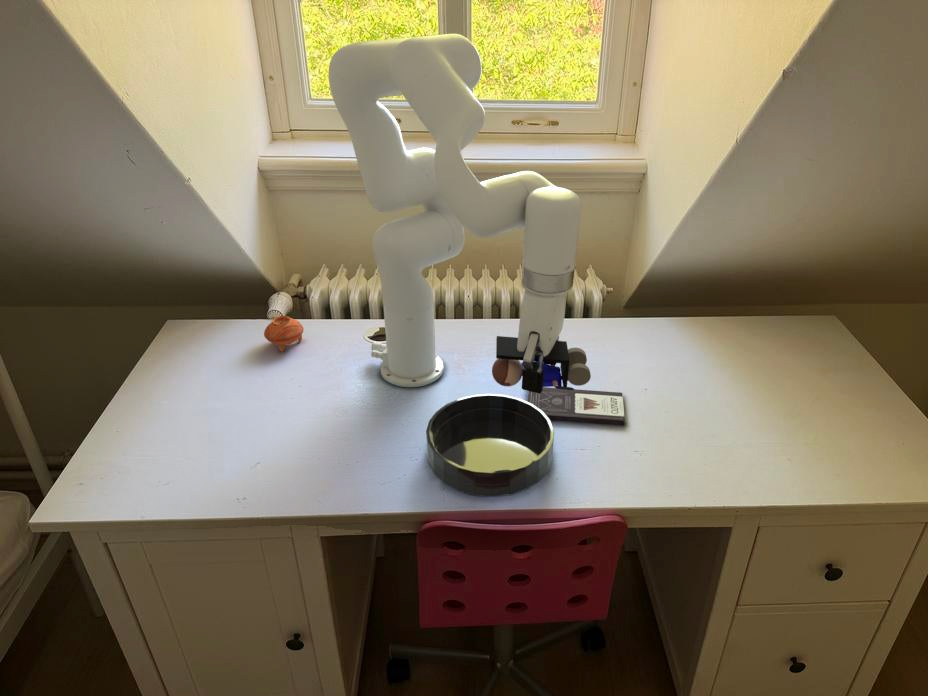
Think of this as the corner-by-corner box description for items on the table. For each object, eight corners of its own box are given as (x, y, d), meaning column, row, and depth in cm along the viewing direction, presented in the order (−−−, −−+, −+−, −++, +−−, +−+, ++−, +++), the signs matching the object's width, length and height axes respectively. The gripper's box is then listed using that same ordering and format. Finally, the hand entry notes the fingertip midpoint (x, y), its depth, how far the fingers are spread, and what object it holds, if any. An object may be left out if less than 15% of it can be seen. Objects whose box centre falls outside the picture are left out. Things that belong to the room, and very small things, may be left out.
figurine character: (579, 380, 114) (489, 369, 113) (589, 341, 110) (496, 330, 108) (584, 404, 109) (490, 393, 107) (595, 364, 105) (497, 353, 103)
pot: (304, 353, 143) (292, 325, 139) (269, 360, 144) (255, 333, 140) (312, 332, 149) (300, 306, 145) (278, 339, 150) (265, 313, 146)
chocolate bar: (529, 386, 134) (622, 392, 133) (529, 390, 135) (621, 396, 134) (526, 413, 127) (624, 420, 126) (526, 417, 127) (624, 424, 126)
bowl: (406, 479, 113) (404, 453, 110) (457, 408, 129) (456, 383, 126) (529, 513, 107) (531, 486, 104) (566, 434, 124) (568, 409, 121)
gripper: (539, 248, 107) (532, 344, 117) (503, 297, 94) (499, 401, 104) (586, 256, 106) (575, 354, 116) (556, 307, 92) (547, 412, 102)
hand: (539, 375), depth 110 cm, fingers closed on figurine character, 7 cm apart
